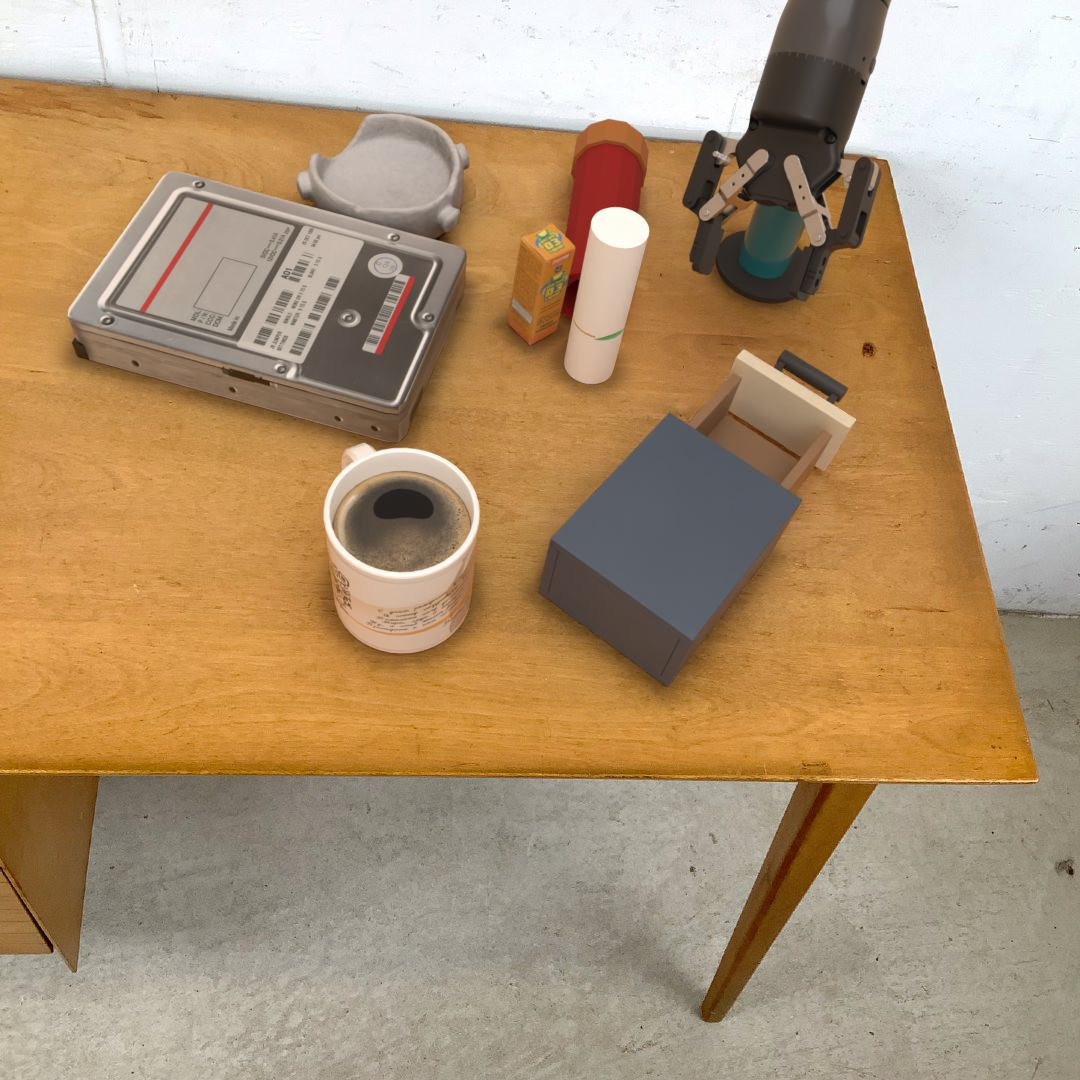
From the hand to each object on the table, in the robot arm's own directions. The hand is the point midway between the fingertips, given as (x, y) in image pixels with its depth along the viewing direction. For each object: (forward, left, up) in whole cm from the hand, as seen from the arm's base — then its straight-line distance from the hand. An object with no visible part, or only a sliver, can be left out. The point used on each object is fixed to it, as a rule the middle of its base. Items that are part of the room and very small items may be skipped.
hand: (747, 285), depth 78 cm
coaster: (+4, -15, -11) cm, 19 cm away
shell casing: (+17, -6, -11) cm, 21 cm away
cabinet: (-7, +19, -11) cm, 23 cm away
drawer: (-7, +6, -10) cm, 14 cm away
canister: (+4, -15, -10) cm, 18 cm away
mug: (+7, +32, -11) cm, 35 cm away
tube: (+9, +6, -11) cm, 15 cm away
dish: (+34, +3, -11) cm, 36 cm away
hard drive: (+31, +20, -11) cm, 38 cm away
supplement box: (+15, +6, -11) cm, 19 cm away
